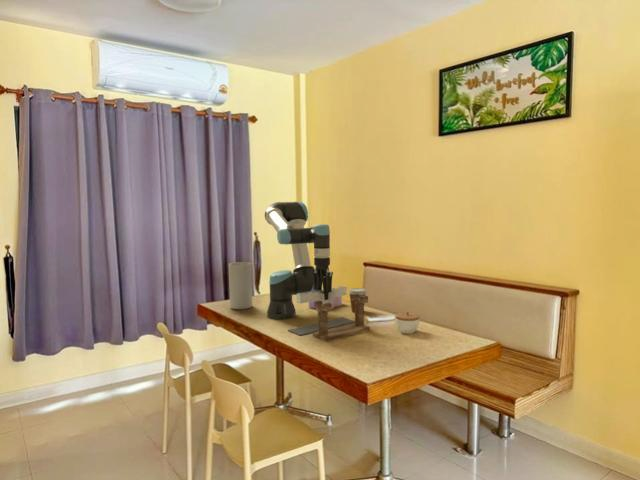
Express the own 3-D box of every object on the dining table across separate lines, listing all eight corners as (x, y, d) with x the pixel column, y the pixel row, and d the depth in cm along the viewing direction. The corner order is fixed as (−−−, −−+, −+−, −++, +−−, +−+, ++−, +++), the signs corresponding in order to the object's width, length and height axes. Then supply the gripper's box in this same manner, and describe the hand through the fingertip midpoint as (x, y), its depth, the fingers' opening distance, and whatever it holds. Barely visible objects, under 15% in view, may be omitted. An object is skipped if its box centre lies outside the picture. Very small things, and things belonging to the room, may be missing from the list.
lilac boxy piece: (332, 302, 271) (332, 290, 270) (346, 305, 261) (346, 293, 261) (305, 307, 258) (305, 295, 257) (319, 311, 248) (319, 299, 248)
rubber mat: (287, 330, 213) (287, 329, 213) (342, 318, 234) (342, 317, 234) (300, 335, 205) (300, 334, 205) (356, 322, 226) (356, 321, 226)
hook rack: (312, 336, 204) (312, 301, 203) (355, 325, 220) (355, 292, 219) (326, 341, 196) (326, 305, 195) (370, 330, 212) (370, 296, 211)
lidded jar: (419, 336, 203) (419, 315, 202) (395, 334, 205) (395, 314, 204) (419, 329, 213) (419, 309, 212) (395, 327, 215) (396, 308, 214)
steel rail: (296, 302, 210) (296, 293, 210) (342, 293, 228) (342, 286, 227) (300, 303, 208) (300, 294, 208) (346, 294, 225) (346, 286, 225)
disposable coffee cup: (352, 308, 253) (352, 287, 252) (368, 310, 249) (368, 288, 248) (346, 312, 245) (345, 290, 244) (362, 314, 241) (362, 292, 239)
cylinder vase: (226, 306, 261) (224, 263, 259) (244, 303, 269) (243, 261, 267) (237, 310, 252) (235, 266, 249) (256, 307, 260) (255, 263, 257)
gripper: (305, 256, 220) (306, 304, 222) (326, 259, 207) (327, 310, 210) (317, 254, 225) (318, 301, 227) (339, 257, 212) (339, 307, 214)
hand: (322, 305), depth 218 cm, fingers closed on steel rail, 3 cm apart
